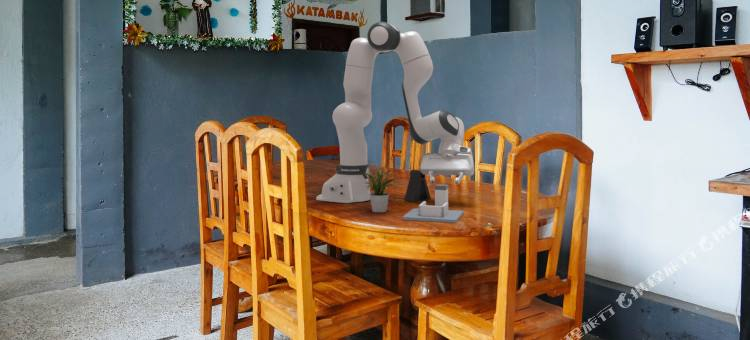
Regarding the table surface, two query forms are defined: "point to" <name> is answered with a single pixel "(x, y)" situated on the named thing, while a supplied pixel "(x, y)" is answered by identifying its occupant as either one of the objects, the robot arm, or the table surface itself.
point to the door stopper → (417, 187)
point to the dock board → (433, 214)
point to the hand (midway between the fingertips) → (444, 182)
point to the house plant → (379, 191)
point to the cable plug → (441, 194)
